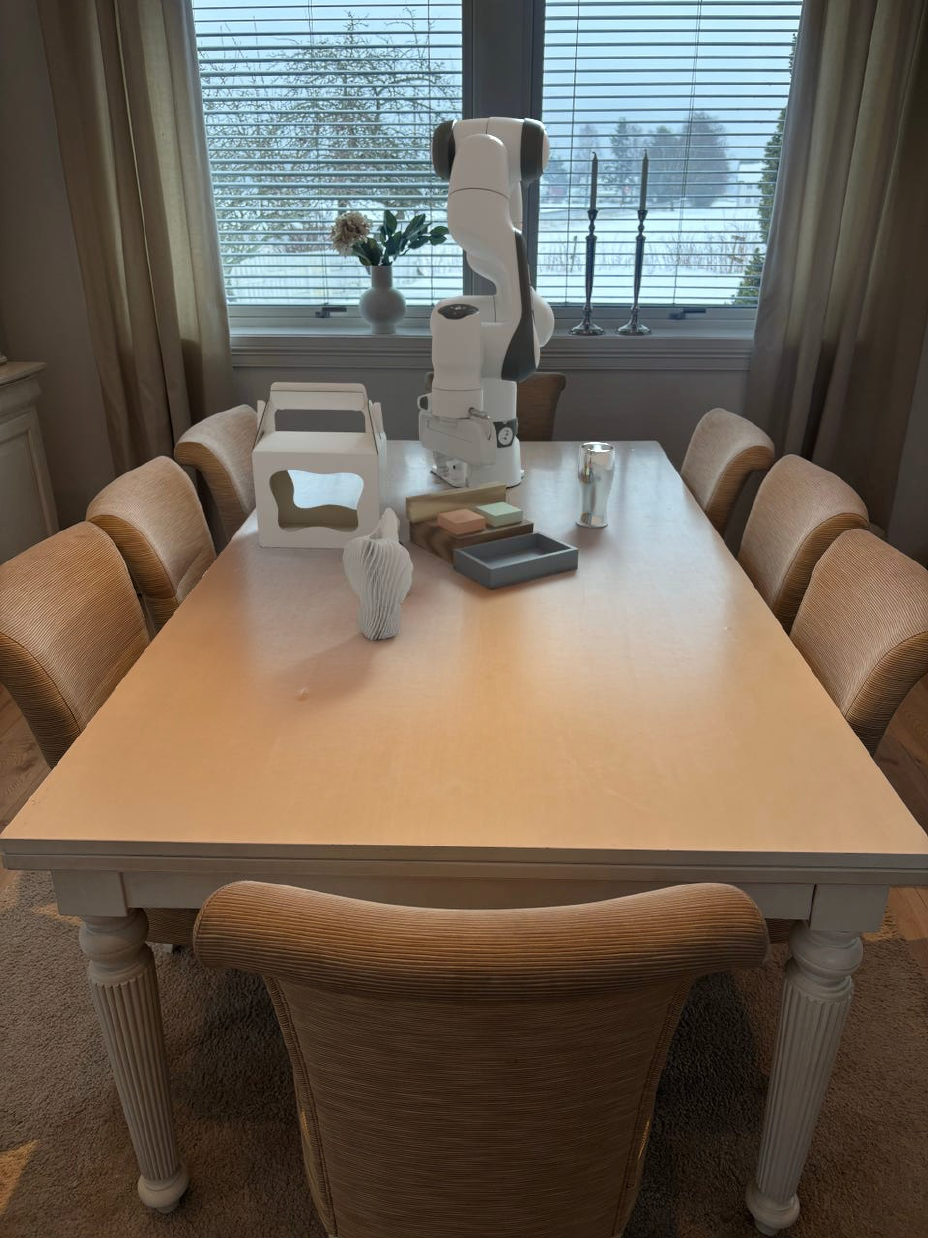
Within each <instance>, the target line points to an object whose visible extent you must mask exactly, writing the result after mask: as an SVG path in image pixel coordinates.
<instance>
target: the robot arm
mask: <svg viewBox="0 0 928 1238" xmlns="http://www.w3.org/2000/svg"><path fill="white" fill-rule="evenodd" d="M550 144H551V143H550V139H549V136H548V133H547V128H546V127H545V126H544V124H543V123H542V121H539V120H536V119H532V118H529V117H527V118H526V117H524V119H519V118H512V117H503V116H502V117H501V116H490V117H486V118H485V117H484V118H483V117H480V118H471V119H469V118H468V119H462V120H457V119H456V118H455V119H450V120H446V121H443V122H441V123H439V125H438V126H437V127H436V128H435V129H434V132H433V136H432V140H431V143H430V159H431V163H432V165H433V170H434V173H435V174H436V175H437V176H438V177H439V178H440V179H441V180H443V181H445V182H449V183H448V189H447V190H448V191H447V201H446V202H447V203H446V223H447V230H448V232H449V234H450V235H449V236H451V238H452V239H453V241H454V242H455V244H456V245H458V246H459V247H460V248H461V249H462V250H464V251H465V252H466V262H467V265H468V267H470V269H471V270H472V271H474V272H475V273H476V274H479V276H481V277H483V278H485V279H487V280H489V281H490V282H492V283H493V284H494V285H495V288H496V293H495V294H493V295H458V296H452V297H447V298H446V297H445V298H443V299H440V300H439V301H438V302H437V303H436V304H435V305H434V307H433V309H432V311H431V314H430V318H429V319H430V320H429V328H430V334H431V335H432V338H431V345H430V347H431V348H430V349H431V350H430V352H431V355H430V356H431V360H430V361H431V363H432V366H433V370H434V371H433V379H432V383H431V392H428V393H425V394H423V395H420V396H418V397H417V401H416V403H417V408H418V409H419V410H420V411H419V414H418V439H419V442H420V444H421V447H422V448H424V449H427V450H429V451H432V458H433V460H434V464H433V465H432V466H431V472H433V473H434V474H435V473H436V476H438V477H440V478H441V479H443V480H444V481H445V482H447V483H448V484H450V485H451V486H453V487H456V488H457V487H458V488H462V487H468V488H470V489H475V488H477V487H478V485H480V484H485V483H491V482H497V481H499V482H502V483H504V484H506V488H508V487H509V488H510V487H513V486H517V485H518V484H520V483H521V482H522V478H523V477H524V476H525V470H524V469H522V467H521V466H522V465H521V464H522V463H521V447H520V446H521V445H520V440H519V439H518V438H517V436H516V435H518V430H519V429H518V428H519V422H518V417H517V391H518V389H517V387H518V386H517V385H518V384H517V383H522V382H524V381H525V380H527V379H528V378H530V377H531V376H532V375H533V374H534V373H535V372H536V371H538V368H539V367H538V366H539V364H540V360H541V359H540V358H541V348H543V347H545V345H547V343H548V342H549V341H550V340H551V337H552V335H553V333H554V329H555V315H554V312H553V310H552V308H551V306H550V304H549V303H548V302H547V301H546V300H545V299H544V298H543V297H542V296H541V295H540V294H539V293H538V292H537V291H536V290H535V289H534V287H533V286H532V279H531V269H530V263H529V262H530V261H529V254H528V246H527V242H526V239H525V237H524V234H523V198H522V197H523V196H522V187H521V183H522V184H523V187H524V189H525V190H526V189H528V188H529V187H530V184H532V183H535V182H536V181H538V180H540V178H541V177H542V176H543V175H544V173H545V170H546V168H547V165H548V162H549V160H550V155H551V154H550V153H551V146H550Z"/></svg>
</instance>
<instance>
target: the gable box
mask: <svg viewBox="0 0 928 1238" xmlns="http://www.w3.org/2000/svg"><path fill="white" fill-rule="evenodd" d="M381 405H382V404H381V402H380V401H375V402H374V403H373V402H372V400H371V399H369V398H368V392H367V389H366V386H365V385H364V384H363V383H361V382H360V383H359V382H318V381H317V382H314V381H313V382H312V381H310V382H308V381H306V382H305V381H304V382H302V381H300V382H299V381H274V382H273V383H272V384H271V385H270V389H269V397H268V398H267V400H266V401H265V400H263V399H258V400H257V412H256V413H257V416H256V417H257V418H256V421H257V425H256V426H257V432H256V435H255V439H254V443H253V446H252V449H251V460H252V474H253V484H254V495H255V497H254V498H255V505H256V506H255V507H256V509H255V510H256V519H257V520H256V521H257V531H258V532H257V533H258V545H259V547H260V548H279V549H280V548H283V549H284V548H285V549H287V548H289V549H296V548H297V549H328V550H329V549H332V550H333V549H335V550H344V546H345V545H346V544H347V543H348V542H349V541H351V540H353V539H355V538H358V537H363V536H367V535H369V534H371V533H372V532H374V530H376V527H377V531H376V535H377V532H378V526H377V525H378V524H379V521H380V520H381V518H382V515H384V512H385V510H386V509H387V508H389V496H388V495H389V494H388V491H389V489H388V486H389V485H388V454H387V453H388V452H387V434H386V432H385V431H384V423H383V415H382V406H381ZM278 410H281V411H284V410H315V411H317V410H323V411H325V410H326V411H328V410H329V411H330V410H332V411H354V412H358V411H360V412H362V414H363V415H364V419H365V431H338V430H337V431H336V430H335V431H328V430H322V431H321V430H279V429H278V430H276V418H275V417H276V416H275V415H276V414H275V413H276V412H277V411H278ZM289 471H300V472H305V473H306V472H307V473H311V474H318V475H331V474H332V475H333V474H341V473H342V474H343V473H345V474H348V473H349V474H353V475H357V476H358V477H360V478H361V480H362V482H363V487H362V491H361V493H360V496H359V498H358V500H357V506H356V509H355V508H354V509H353V508H350V507H347V506H345V505H339V504H321V505H318V506H312V507H300V506H297V505H296V502H295V499H294V497H295V496H294V495H295V487H294V482H293V479H292V477H291V475H290V473H289ZM377 539H378V537H377Z"/></svg>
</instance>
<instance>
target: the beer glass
mask: <svg viewBox="0 0 928 1238" xmlns="http://www.w3.org/2000/svg"><path fill="white" fill-rule="evenodd" d="M615 450H616V446H614V445H611V444H610V443H603V442H586V443H582V444H580V445H579V451H578V456H577V457H578V459H577V465H576V466H577V469H576V479H577V481H576V482H577V488H578V499H579V501H578V502H579V504H578V505H579V506H578V512H577V517H576V519H575V521H576V522H575V523H576V525H578V526H579V527H584V528H588V529H589V528H590V529H600V528H604V527H606V526H607V525H608V523H609V520H608V501H609V497H610V494H611V490H612V486H613V481H614V477H615V476H614V475H615V465H616V464H615V463H616V462H615V461H616V460H615V458H616V457H615V452H616V451H615Z"/></svg>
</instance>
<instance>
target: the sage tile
mask: <svg viewBox="0 0 928 1238" xmlns="http://www.w3.org/2000/svg"><path fill="white" fill-rule="evenodd" d="M523 512H524V510H523V509H521V508H518V507H516V506H514V505H511V504H509V503H507V502H506V503H505V502H499V503H494V504H488V505H483V506H478V507H476V512H475V513H476V514H479V515H481V516H483V517H485V522H486V523H488V524H490V525H492V526H494V527H496V526H501V525H506V524H511V523H516V522H521V521H522V518H524V517H523Z"/></svg>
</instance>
